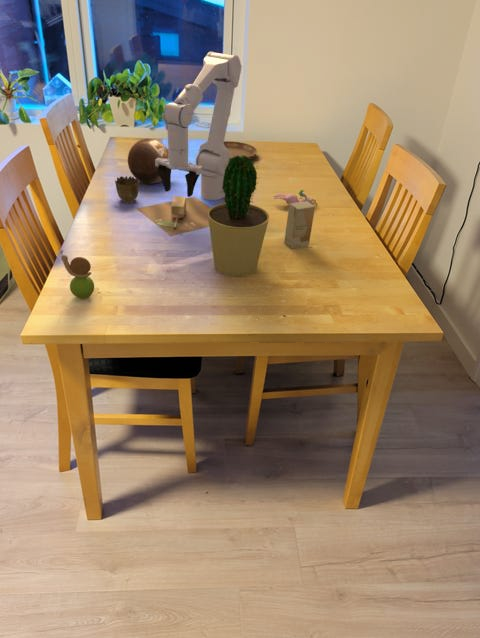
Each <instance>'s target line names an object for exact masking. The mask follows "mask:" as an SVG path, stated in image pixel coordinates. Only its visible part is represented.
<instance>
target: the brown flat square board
mask: <svg viewBox="0 0 480 638" xmlns="http://www.w3.org/2000/svg"><path fill="white" fill-rule="evenodd" d="M172 202H173V200H171V201H166V202H162V203H157V204H152V205H146V206H142V207H136V209H137V210H138V211H139V212H140V213H142V214H143V216H145V217H146V218H148V219H149V220H150V221H151V222H153V223H154V224H155V225H156V226H157V227H159V229H161V230H163V231H164V232H165V233H166V234H168V235H169V236H170V237H172V236H177V235H180V234H185V233H188V232H189V233H190V232H193V231H197V230H201V229H206V228H209V220H208V211H209V210H210V209H211V208H212V207H211V206H209V205H207V204H206V203H205V202H203V201H201V200H200V199H199V198H197V197H195V196H190V197H186V210H185V211H186V215H185V216H184V218H178V222H177V225H176V228H174V224H175V221H176V218H175V217H171V205H172Z"/></svg>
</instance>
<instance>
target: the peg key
mask: <svg viewBox="0 0 480 638" xmlns="http://www.w3.org/2000/svg"><path fill="white" fill-rule="evenodd" d="M186 198H187V196H182V195H181V196H180V195H179V196H177V195H174V196H173V199H172V201H173V202H172V205H171V217H175V218H176V221H175V224H174V228H176V225H177V222H178V218H184V216H185V215H186V211H185V210H186Z"/></svg>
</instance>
